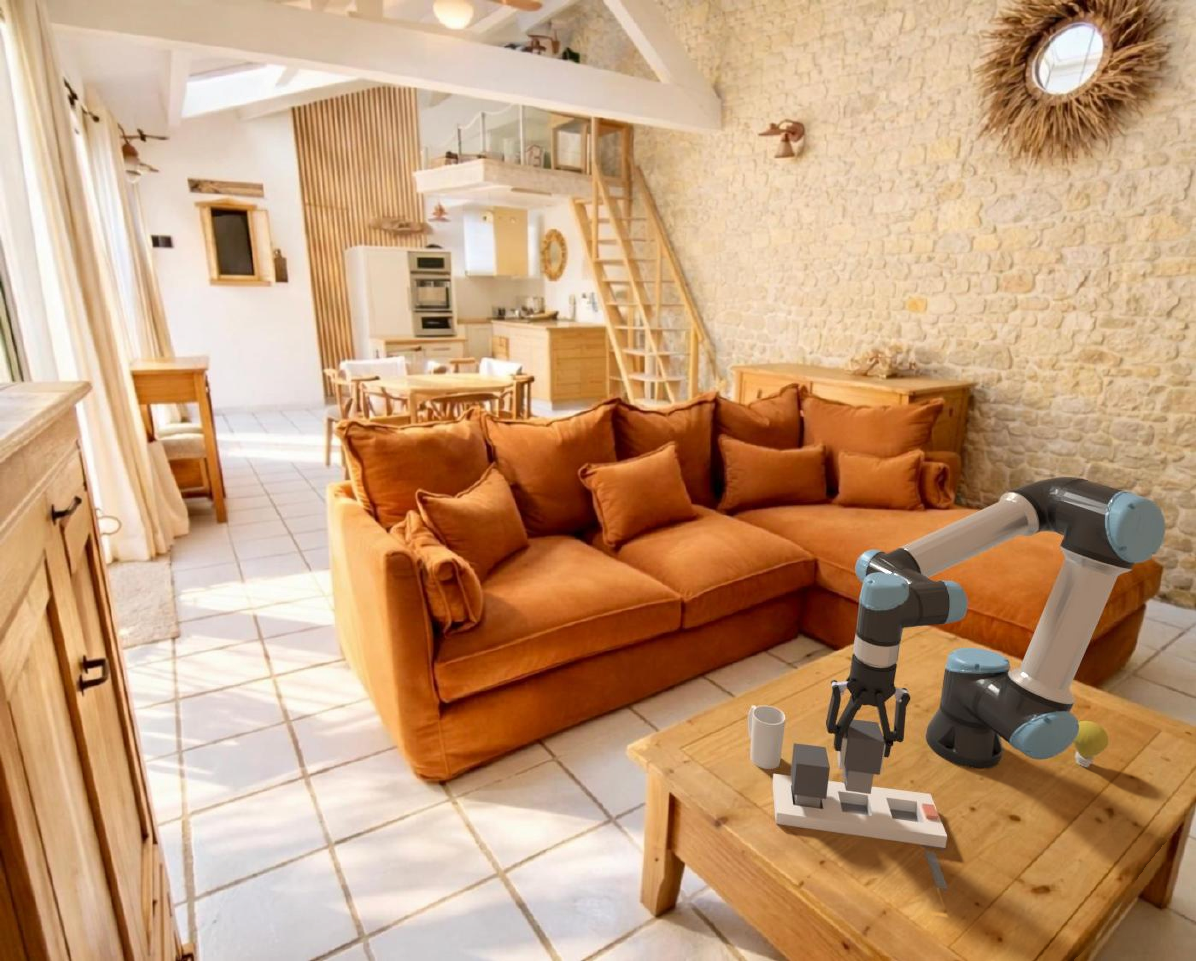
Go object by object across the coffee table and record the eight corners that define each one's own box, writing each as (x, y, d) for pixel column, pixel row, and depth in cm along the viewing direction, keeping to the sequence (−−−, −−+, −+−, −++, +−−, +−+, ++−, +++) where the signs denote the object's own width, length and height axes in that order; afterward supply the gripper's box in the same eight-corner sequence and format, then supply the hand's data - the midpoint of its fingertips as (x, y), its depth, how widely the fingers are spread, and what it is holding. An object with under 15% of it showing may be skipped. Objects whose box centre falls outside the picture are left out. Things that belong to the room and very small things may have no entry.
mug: (787, 768, 146) (792, 720, 143) (761, 777, 143) (765, 727, 140) (758, 741, 155) (762, 694, 151) (733, 748, 152) (737, 701, 149)
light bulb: (1097, 758, 150) (1107, 719, 147) (1104, 777, 144) (1115, 737, 141) (1061, 750, 153) (1070, 711, 150) (1067, 768, 147) (1076, 728, 144)
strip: (927, 808, 135) (931, 790, 134) (944, 852, 124) (948, 832, 123) (771, 788, 140) (773, 770, 139) (775, 828, 130) (777, 809, 128)
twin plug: (819, 798, 136) (825, 747, 133) (823, 820, 130) (829, 767, 127) (788, 794, 137) (793, 743, 134) (791, 816, 131) (796, 763, 128)
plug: (869, 776, 132) (877, 722, 129) (876, 797, 127) (884, 742, 123) (837, 771, 133) (844, 718, 130) (842, 792, 128) (850, 737, 124)
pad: (934, 854, 124) (934, 852, 124) (947, 891, 116) (948, 888, 116) (887, 848, 125) (888, 845, 125) (898, 884, 118) (898, 881, 117)
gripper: (925, 653, 125) (907, 761, 131) (817, 641, 128) (804, 747, 134) (937, 675, 118) (917, 788, 124) (822, 662, 121) (808, 773, 127)
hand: (858, 766), depth 129 cm, fingers closed on plug, 6 cm apart
